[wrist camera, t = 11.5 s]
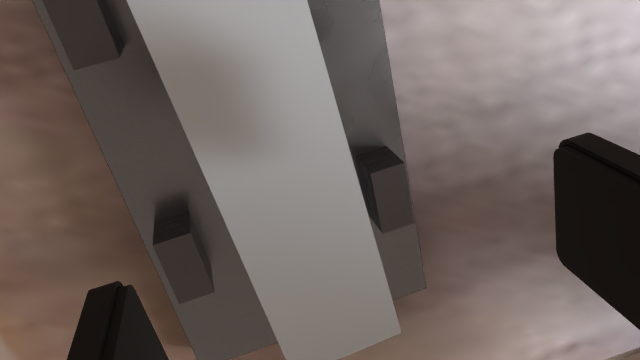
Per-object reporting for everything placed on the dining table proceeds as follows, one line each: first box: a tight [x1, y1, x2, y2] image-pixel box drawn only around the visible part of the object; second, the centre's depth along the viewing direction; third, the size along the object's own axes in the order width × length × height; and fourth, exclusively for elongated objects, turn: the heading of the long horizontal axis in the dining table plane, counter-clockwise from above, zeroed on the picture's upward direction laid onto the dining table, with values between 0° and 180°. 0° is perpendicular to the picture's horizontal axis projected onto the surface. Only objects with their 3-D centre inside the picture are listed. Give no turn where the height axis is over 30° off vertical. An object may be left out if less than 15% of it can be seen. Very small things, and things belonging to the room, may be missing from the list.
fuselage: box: [127, 0, 402, 360], centre depth 17 cm, size 4×19×8 cm, turn 16°
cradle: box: [32, 0, 426, 360], centre depth 21 cm, size 12×24×4 cm, turn 13°
